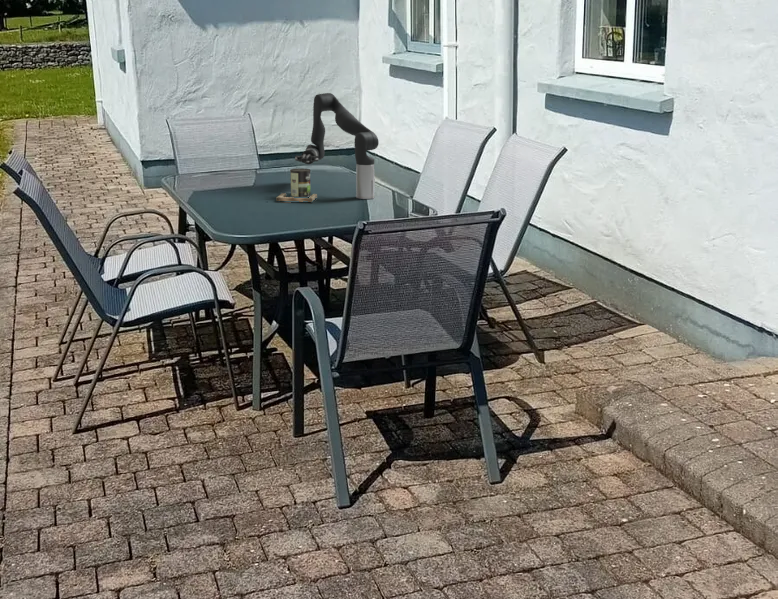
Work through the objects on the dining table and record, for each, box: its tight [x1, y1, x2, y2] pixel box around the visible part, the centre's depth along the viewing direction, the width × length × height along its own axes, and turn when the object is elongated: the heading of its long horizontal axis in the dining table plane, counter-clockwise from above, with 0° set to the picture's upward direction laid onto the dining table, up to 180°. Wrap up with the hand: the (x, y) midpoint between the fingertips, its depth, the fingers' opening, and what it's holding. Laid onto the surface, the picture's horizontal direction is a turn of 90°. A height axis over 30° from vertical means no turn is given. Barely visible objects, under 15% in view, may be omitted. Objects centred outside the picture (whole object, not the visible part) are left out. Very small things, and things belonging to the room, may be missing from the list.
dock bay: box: [275, 192, 318, 202], centre depth 494 cm, size 18×14×2 cm
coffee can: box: [289, 168, 311, 197], centre depth 502 cm, size 10×10×14 cm
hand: (303, 160), depth 509 cm, fingers closed
